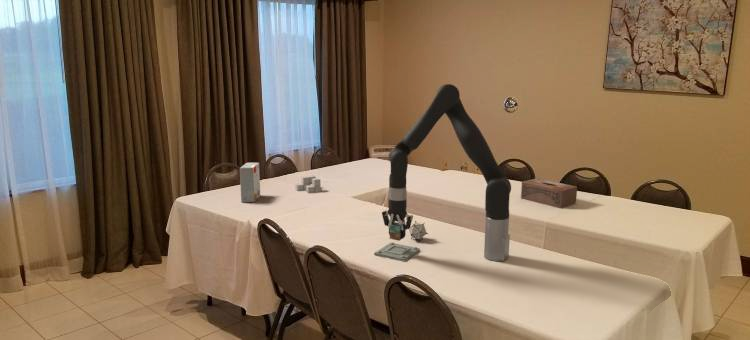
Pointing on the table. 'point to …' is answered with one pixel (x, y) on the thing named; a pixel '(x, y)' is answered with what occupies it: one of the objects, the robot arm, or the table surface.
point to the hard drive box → (250, 182)
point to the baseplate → (397, 251)
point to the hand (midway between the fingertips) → (396, 236)
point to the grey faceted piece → (417, 230)
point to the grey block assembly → (309, 184)
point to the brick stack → (395, 231)
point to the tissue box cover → (549, 193)
